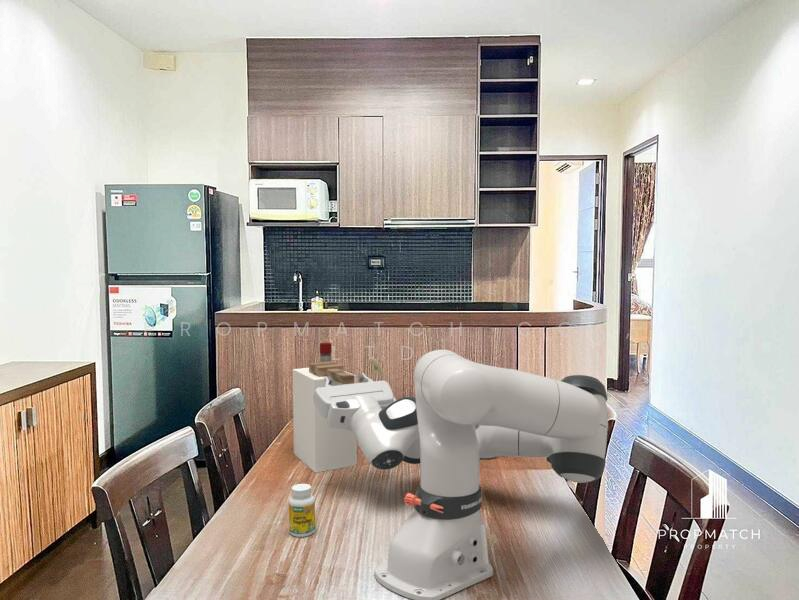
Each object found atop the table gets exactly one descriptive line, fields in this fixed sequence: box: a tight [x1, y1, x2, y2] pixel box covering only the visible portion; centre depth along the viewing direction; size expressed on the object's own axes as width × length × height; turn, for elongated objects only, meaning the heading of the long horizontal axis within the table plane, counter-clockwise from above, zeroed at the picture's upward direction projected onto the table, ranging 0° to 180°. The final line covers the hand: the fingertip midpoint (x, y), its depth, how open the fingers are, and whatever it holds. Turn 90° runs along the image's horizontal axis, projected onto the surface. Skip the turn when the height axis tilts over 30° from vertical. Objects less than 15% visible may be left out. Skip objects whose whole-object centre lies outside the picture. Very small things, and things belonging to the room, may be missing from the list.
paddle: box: [308, 361, 355, 384], centre depth 162 cm, size 20×7×2 cm, turn 28°
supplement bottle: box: [288, 483, 316, 538], centre depth 125 cm, size 5×5×10 cm
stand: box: [292, 367, 358, 474], centre depth 170 cm, size 18×12×25 cm, turn 28°
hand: (343, 376), depth 156 cm, fingers open, 8 cm apart
